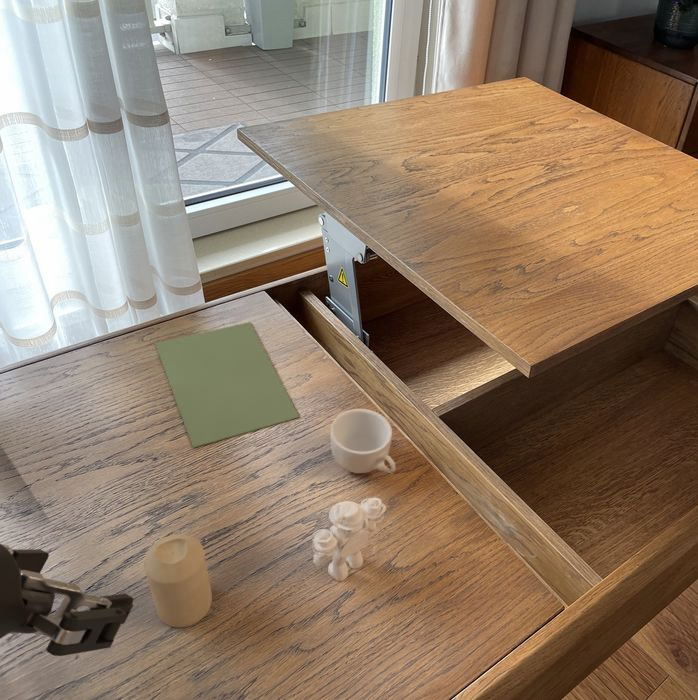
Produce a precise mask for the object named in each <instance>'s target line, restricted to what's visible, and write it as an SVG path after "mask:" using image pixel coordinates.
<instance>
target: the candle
mask: <svg viewBox="0 0 698 700" xmlns="http://www.w3.org/2000/svg"><path fill="white" fill-rule="evenodd" d="M143 568H144V573H145V576H146V579H147V583H148V587H149V590H150V593H151V596H152V597H151V598H152V601H153V604H154V607H155V610H156V613H157V616H158V617H159V619H160V620H161V621H162V623H164V624H165V625H167V626H170V627H172V628H186V627H190V626H192V625H195V624H196V623H198V622H199V621H201V620H202V619H203V618H205V616H206V615H207V614H208V613H209V611H210V608H211V606H212V603H213V592H212V587H211V582H210V576H209V572H208V571H209V570H208V566H207V561H206V554H205V550H204V546H203V545H202V543H201V541H200V540H198V539H197V538H196V537H194V536H192V535H189V534H185V533H184V534H183V533H177V534H171V535H167V536H165V537H163V538H160V539H159V540H157V541H156V542H154V543H153V544H152V545H151V546H150V547H149V548H148V550H147V551H146V553H145V556H144V559H143Z"/></svg>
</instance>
